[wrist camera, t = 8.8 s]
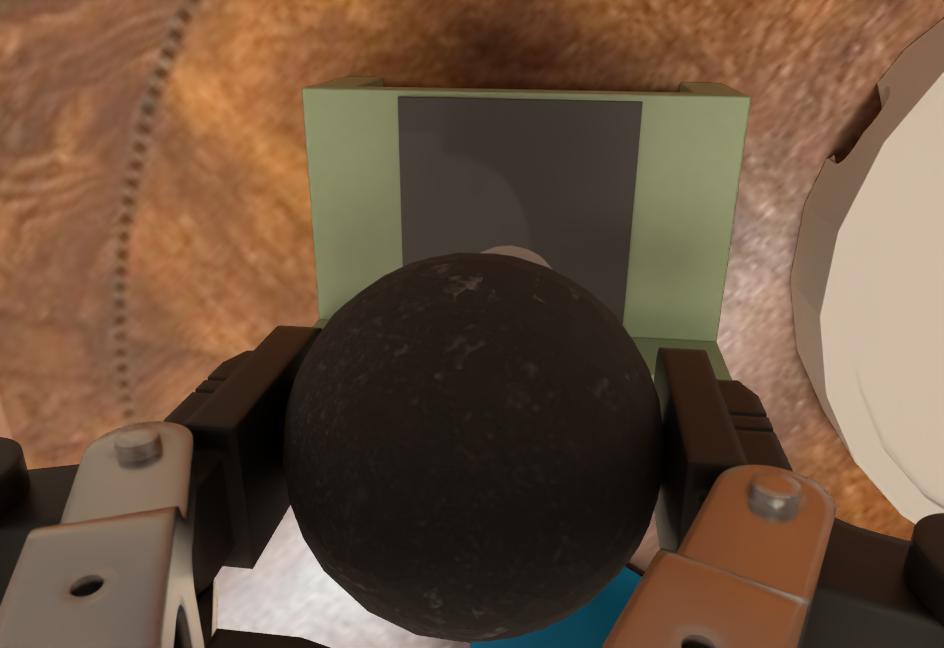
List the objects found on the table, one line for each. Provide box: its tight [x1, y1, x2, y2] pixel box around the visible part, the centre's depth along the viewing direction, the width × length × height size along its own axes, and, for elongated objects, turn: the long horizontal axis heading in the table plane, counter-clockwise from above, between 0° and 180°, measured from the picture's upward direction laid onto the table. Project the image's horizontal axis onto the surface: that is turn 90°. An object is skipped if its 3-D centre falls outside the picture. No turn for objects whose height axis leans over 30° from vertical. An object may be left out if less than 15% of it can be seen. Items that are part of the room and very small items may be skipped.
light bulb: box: [283, 245, 665, 643], centre depth 13 cm, size 6×6×10 cm
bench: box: [302, 76, 751, 383], centre depth 26 cm, size 14×9×8 cm, turn 90°
